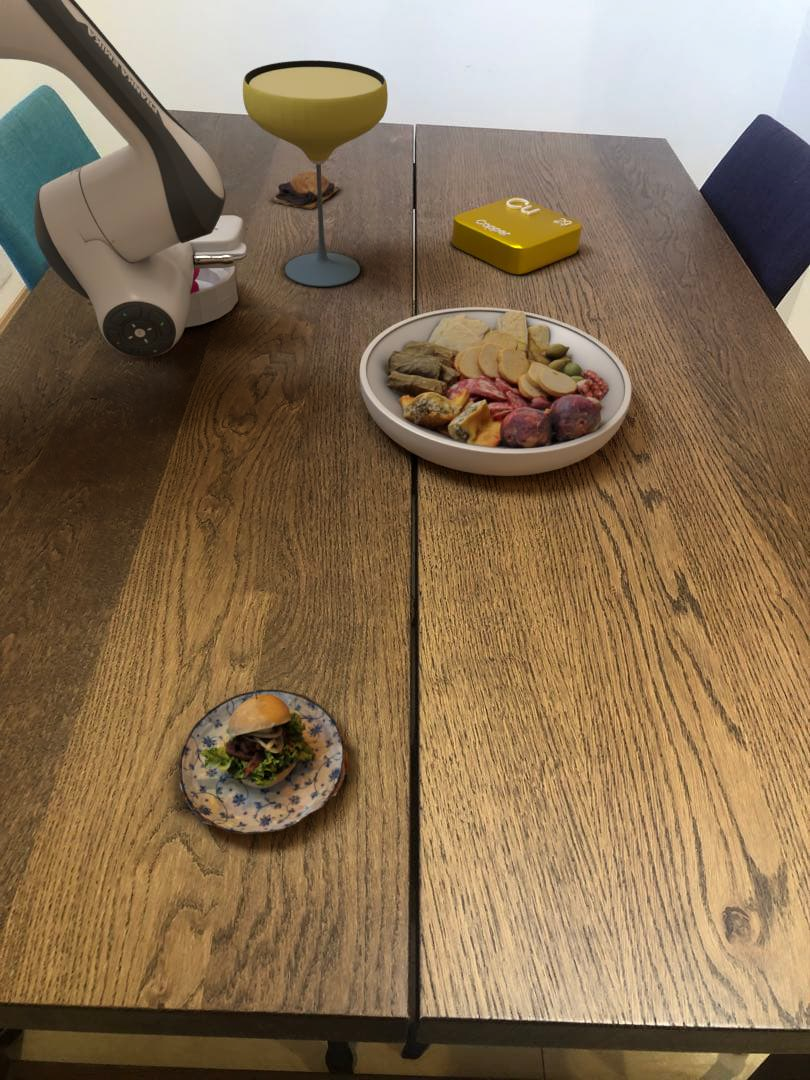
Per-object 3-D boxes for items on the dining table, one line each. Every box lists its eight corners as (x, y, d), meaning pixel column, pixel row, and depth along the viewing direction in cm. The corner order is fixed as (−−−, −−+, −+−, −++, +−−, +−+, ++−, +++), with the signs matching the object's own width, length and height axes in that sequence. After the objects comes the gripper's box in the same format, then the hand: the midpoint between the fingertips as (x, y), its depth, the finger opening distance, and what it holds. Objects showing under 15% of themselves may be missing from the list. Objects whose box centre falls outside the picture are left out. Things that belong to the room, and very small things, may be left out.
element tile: (446, 243, 127) (448, 212, 123) (511, 220, 134) (515, 190, 131) (517, 278, 119) (521, 246, 115) (583, 251, 126) (588, 220, 123)
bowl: (307, 394, 95) (304, 333, 89) (491, 319, 109) (498, 263, 104) (487, 532, 78) (496, 467, 73) (676, 423, 93) (695, 362, 88)
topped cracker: (300, 181, 144) (299, 159, 142) (342, 190, 142) (342, 168, 139) (268, 201, 137) (266, 178, 134) (312, 210, 134) (311, 187, 132)
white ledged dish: (107, 336, 103) (98, 299, 100) (122, 278, 115) (114, 244, 111) (237, 331, 105) (233, 295, 101) (239, 275, 117) (235, 241, 113)
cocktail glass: (301, 311, 109) (288, 108, 92) (237, 261, 120) (215, 70, 103) (409, 279, 117) (416, 86, 100) (341, 234, 128) (337, 53, 111)
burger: (155, 831, 55) (134, 772, 50) (212, 690, 64) (199, 628, 59) (328, 860, 54) (324, 803, 49) (362, 713, 63) (362, 652, 58)
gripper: (244, 233, 92) (245, 187, 101) (54, 237, 89) (74, 190, 99) (249, 286, 96) (250, 237, 106) (68, 291, 93) (86, 241, 103)
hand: (163, 214), depth 102 cm, fingers open, 6 cm apart
